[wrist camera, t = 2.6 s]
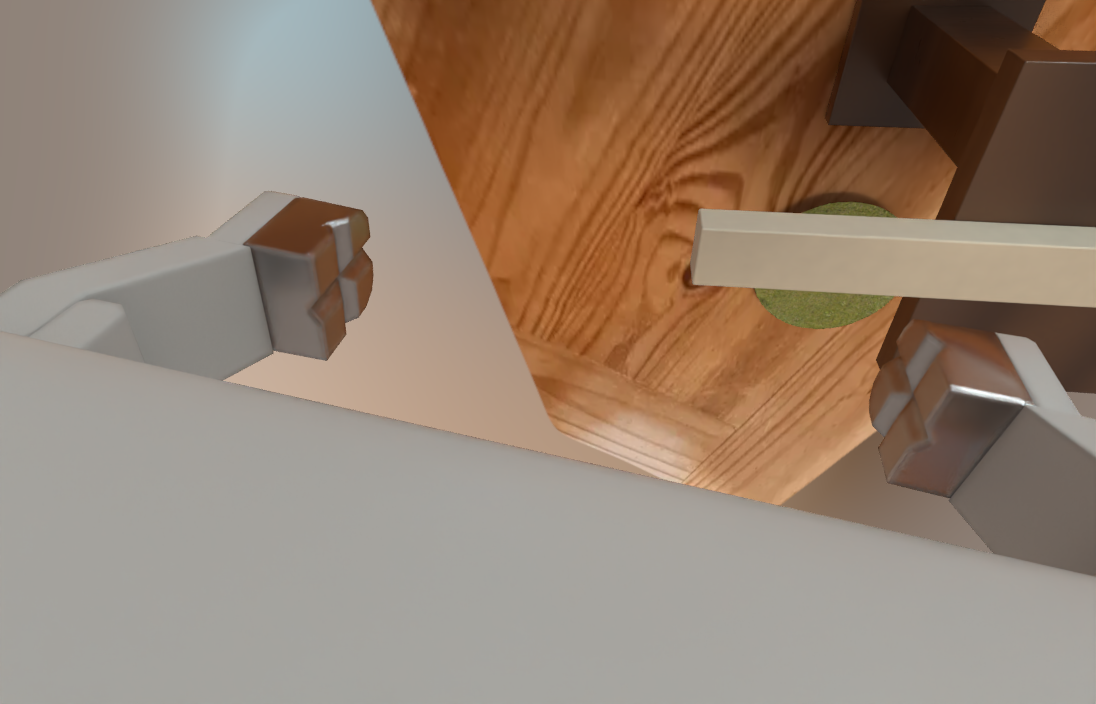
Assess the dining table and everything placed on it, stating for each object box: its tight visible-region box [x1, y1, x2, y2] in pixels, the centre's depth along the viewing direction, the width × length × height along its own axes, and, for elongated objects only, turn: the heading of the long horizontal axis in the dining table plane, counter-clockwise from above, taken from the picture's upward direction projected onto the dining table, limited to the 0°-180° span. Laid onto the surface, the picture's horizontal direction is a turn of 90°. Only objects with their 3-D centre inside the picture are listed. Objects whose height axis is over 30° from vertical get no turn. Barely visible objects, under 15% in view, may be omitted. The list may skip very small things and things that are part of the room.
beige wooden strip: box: [690, 209, 1096, 308], centre depth 21 cm, size 22×6×2 cm, turn 90°
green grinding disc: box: [755, 202, 896, 329], centre depth 50 cm, size 11×11×2 cm
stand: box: [825, 0, 1096, 394], centre depth 31 cm, size 15×12×25 cm
